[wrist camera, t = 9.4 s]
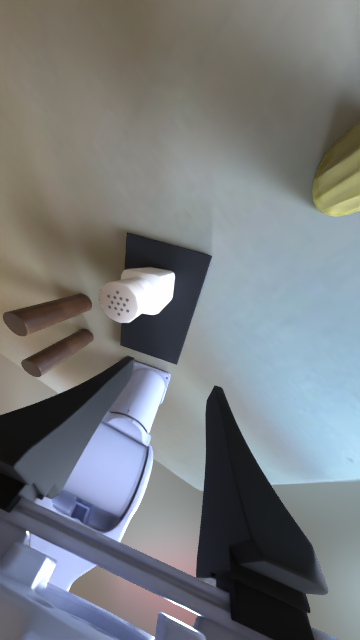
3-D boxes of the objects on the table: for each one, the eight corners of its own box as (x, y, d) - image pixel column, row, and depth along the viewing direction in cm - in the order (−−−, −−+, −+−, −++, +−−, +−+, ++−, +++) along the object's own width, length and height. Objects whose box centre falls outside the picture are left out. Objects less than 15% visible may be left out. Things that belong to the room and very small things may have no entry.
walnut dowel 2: (94, 343, 26) (43, 380, 18) (80, 339, 26) (24, 373, 18) (93, 331, 25) (38, 364, 17) (79, 326, 25) (18, 357, 17)
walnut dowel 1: (92, 312, 23) (30, 339, 15) (77, 307, 23) (8, 331, 15) (91, 296, 22) (23, 316, 14) (75, 291, 22) (-2, 308, 14)
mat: (177, 362, 24) (176, 364, 23) (122, 343, 25) (120, 345, 24) (211, 256, 16) (212, 255, 16) (129, 233, 17) (126, 232, 16)
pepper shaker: (147, 266, 17) (89, 270, 9) (176, 271, 17) (144, 280, 8) (146, 295, 19) (97, 322, 11) (172, 300, 19) (143, 333, 10)
